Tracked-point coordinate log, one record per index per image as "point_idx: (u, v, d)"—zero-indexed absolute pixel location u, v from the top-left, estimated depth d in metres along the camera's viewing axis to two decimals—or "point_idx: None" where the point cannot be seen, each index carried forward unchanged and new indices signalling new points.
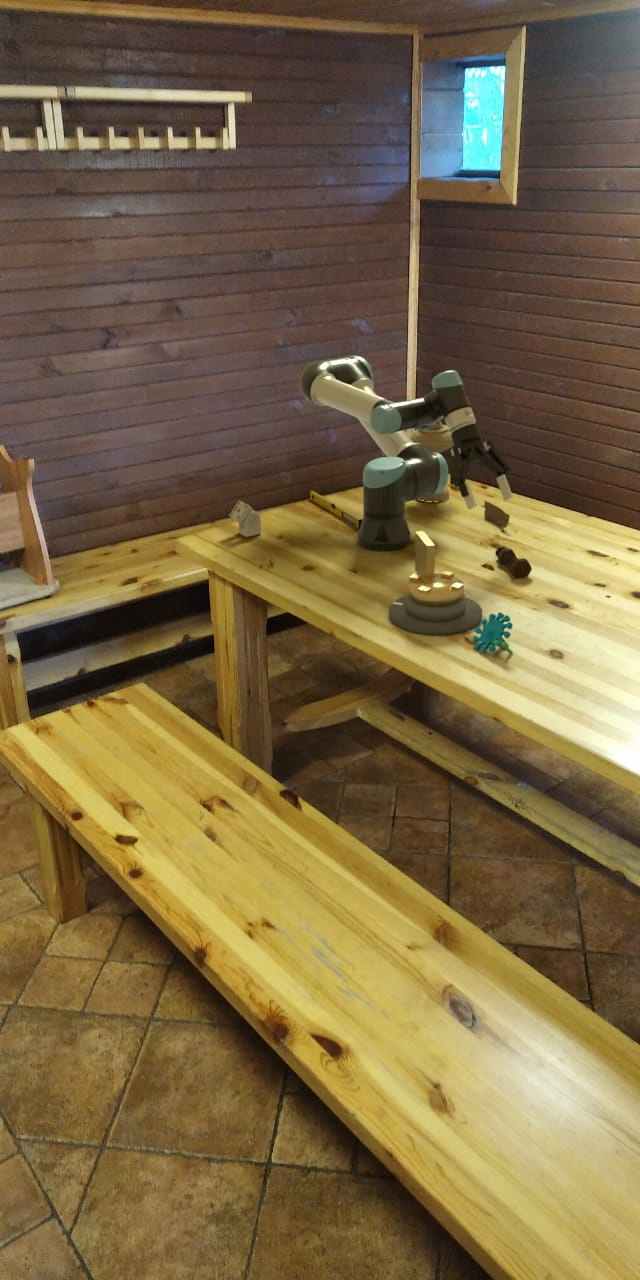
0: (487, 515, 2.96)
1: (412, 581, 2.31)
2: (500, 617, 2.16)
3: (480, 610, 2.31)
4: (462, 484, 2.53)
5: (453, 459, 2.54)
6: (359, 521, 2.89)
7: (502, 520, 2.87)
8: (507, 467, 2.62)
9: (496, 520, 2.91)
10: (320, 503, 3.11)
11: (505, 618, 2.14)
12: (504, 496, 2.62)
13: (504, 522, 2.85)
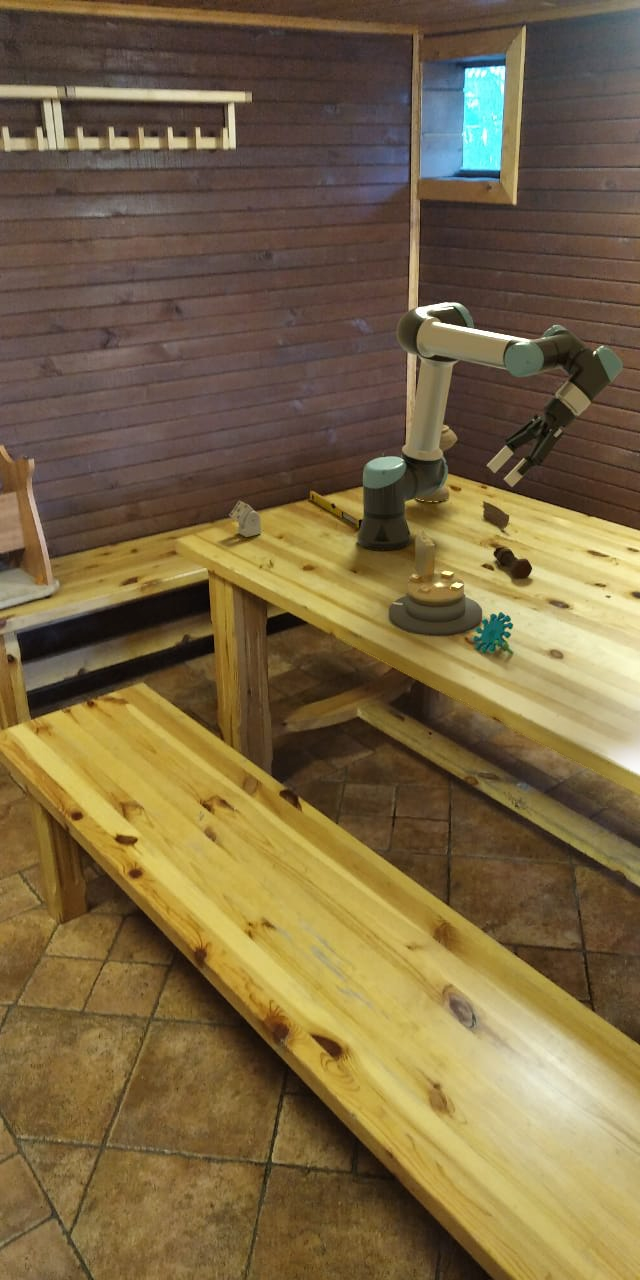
0: (486, 515, 2.96)
1: (412, 581, 2.31)
2: (501, 617, 2.16)
3: (480, 610, 2.31)
4: None
5: (552, 440, 2.23)
6: (359, 521, 2.89)
7: (502, 520, 2.87)
8: None
9: (495, 520, 2.91)
10: (320, 503, 3.11)
11: (506, 618, 2.14)
12: (492, 464, 2.37)
13: (503, 523, 2.85)
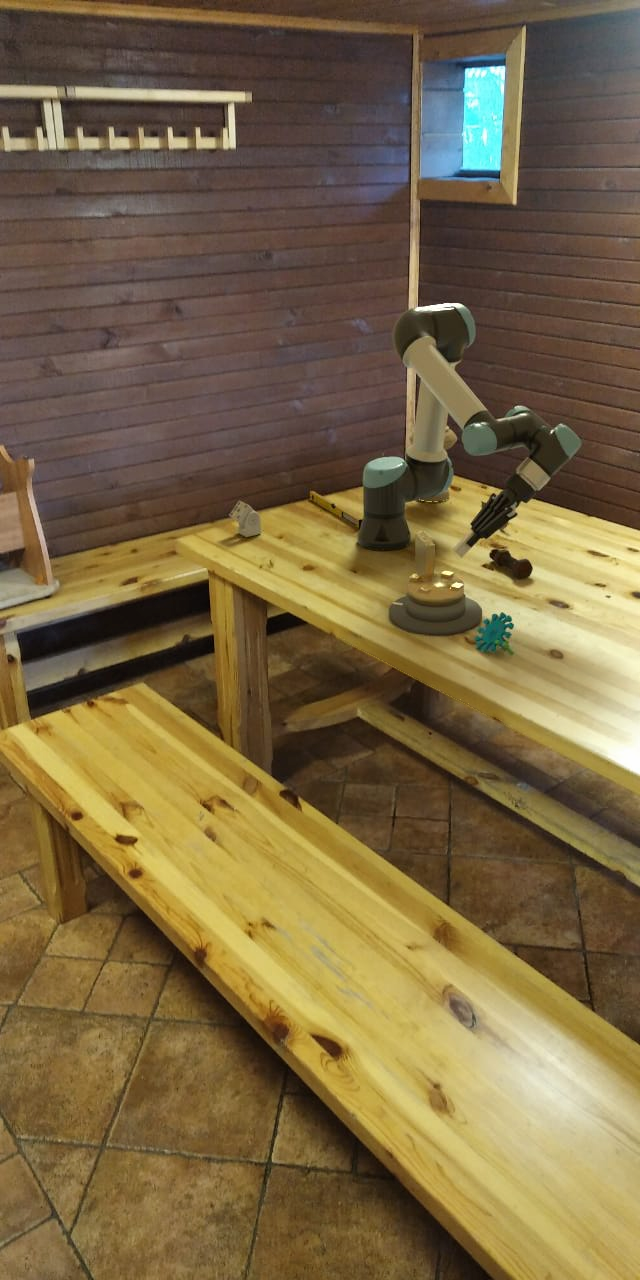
0: None
1: (412, 581, 2.31)
2: (502, 617, 2.16)
3: (480, 610, 2.31)
4: None
5: (504, 519, 2.31)
6: (359, 521, 2.89)
7: None
8: None
9: None
10: (320, 503, 3.11)
11: (507, 618, 2.14)
12: None
13: None
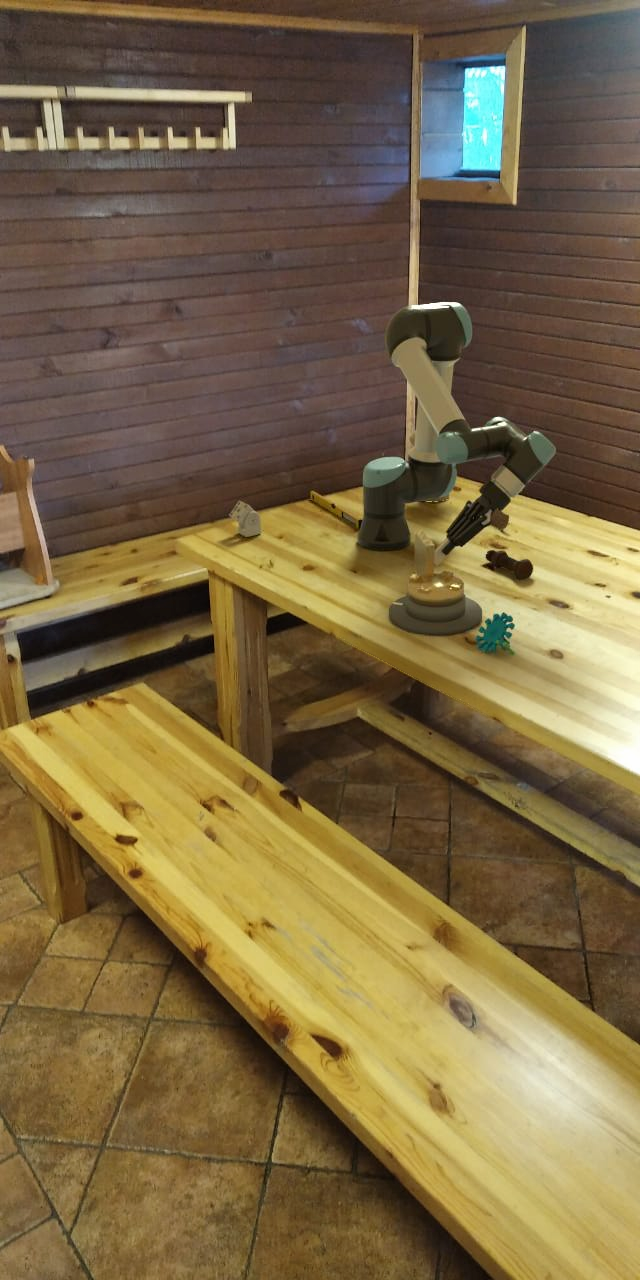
0: None
1: (412, 581, 2.31)
2: (503, 617, 2.16)
3: (480, 610, 2.31)
4: None
5: (479, 527, 2.30)
6: (359, 521, 2.89)
7: (501, 521, 2.86)
8: None
9: (493, 521, 2.90)
10: (320, 503, 3.11)
11: (508, 618, 2.14)
12: None
13: (503, 523, 2.85)
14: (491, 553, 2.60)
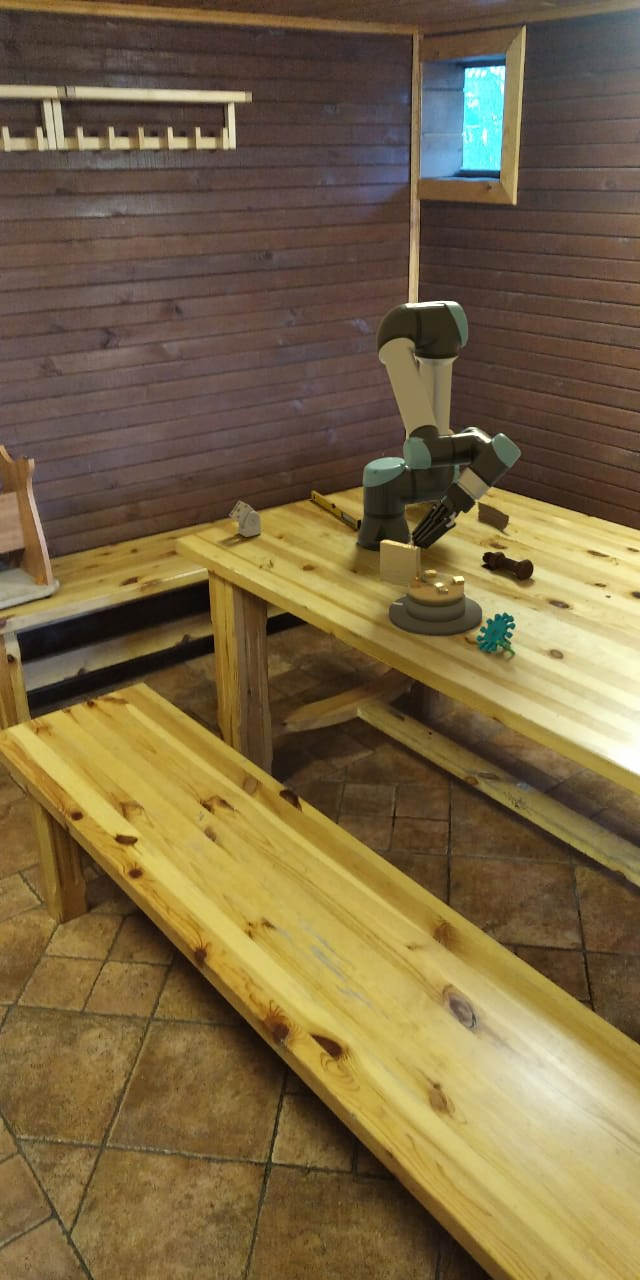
0: (481, 516, 2.95)
1: (415, 588, 2.27)
2: (505, 617, 2.16)
3: (480, 610, 2.31)
4: None
5: (443, 529, 2.30)
6: (358, 521, 2.89)
7: (500, 521, 2.86)
8: None
9: (493, 521, 2.90)
10: (321, 503, 3.11)
11: (509, 618, 2.14)
12: None
13: (503, 523, 2.85)
14: (488, 555, 2.59)
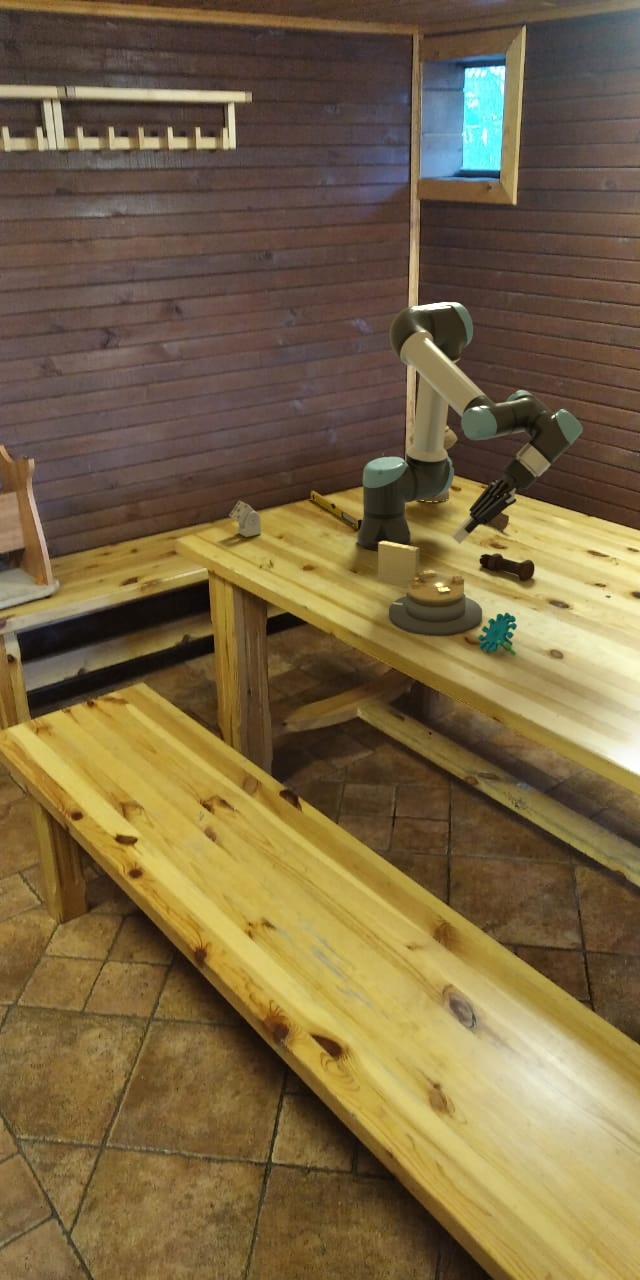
0: None
1: (416, 588, 2.27)
2: (506, 617, 2.15)
3: (480, 610, 2.31)
4: None
5: (503, 505, 2.29)
6: (358, 521, 2.89)
7: (500, 521, 2.86)
8: None
9: (491, 521, 2.90)
10: (320, 503, 3.11)
11: (510, 618, 2.14)
12: None
13: (502, 523, 2.85)
14: (486, 557, 2.58)
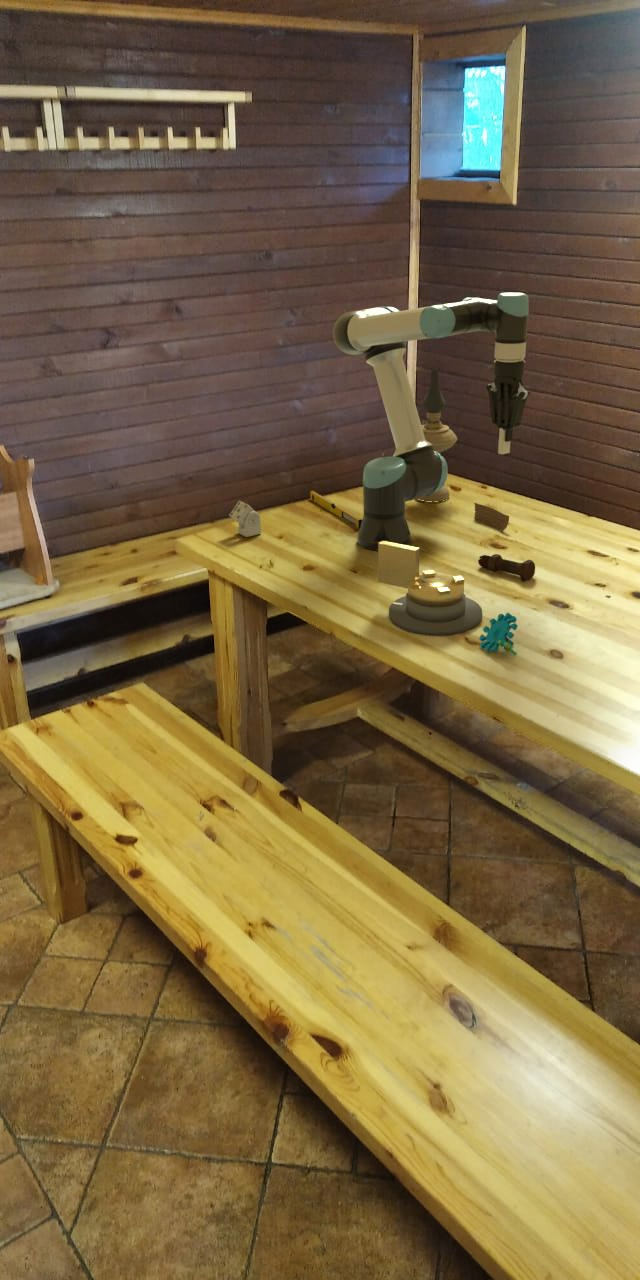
0: (478, 517, 2.94)
1: (416, 588, 2.27)
2: (507, 617, 2.15)
3: (480, 610, 2.31)
4: None
5: (522, 403, 2.42)
6: (359, 521, 2.89)
7: (499, 521, 2.86)
8: None
9: (491, 522, 2.90)
10: (320, 503, 3.11)
11: (511, 619, 2.13)
12: None
13: (502, 524, 2.85)
14: (485, 558, 2.57)
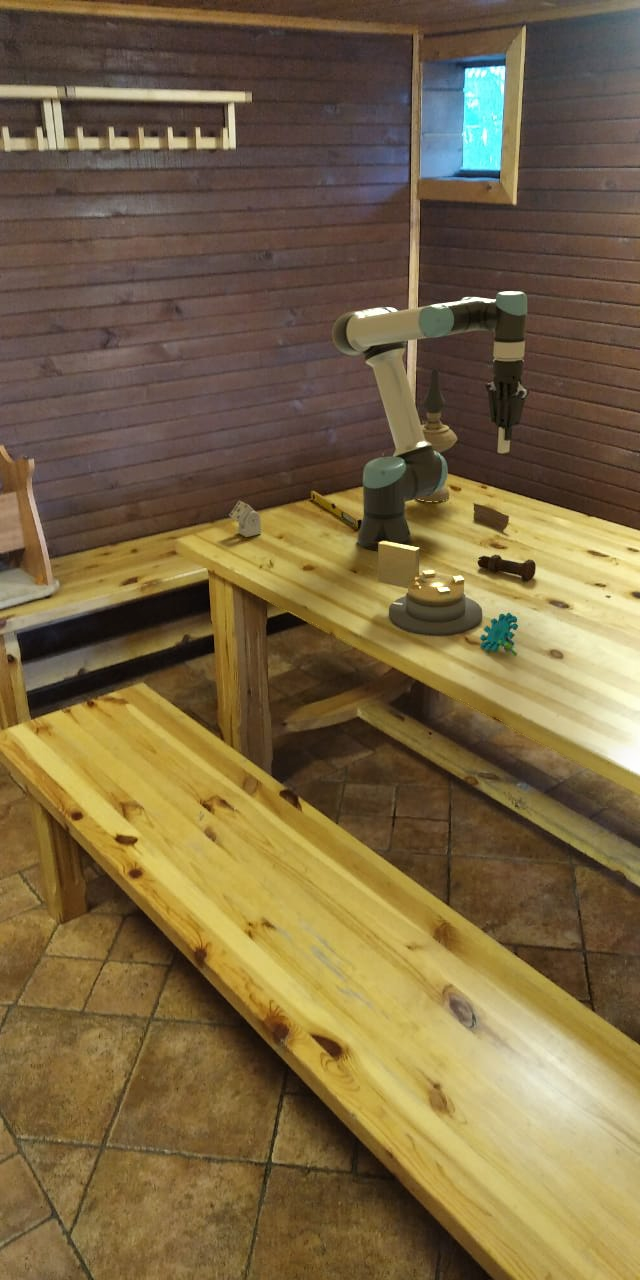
0: (477, 517, 2.94)
1: (416, 588, 2.27)
2: (508, 617, 2.15)
3: (480, 610, 2.31)
4: None
5: (521, 401, 2.42)
6: (358, 521, 2.89)
7: (499, 521, 2.86)
8: None
9: (490, 522, 2.90)
10: (320, 503, 3.11)
11: (512, 619, 2.13)
12: None
13: (502, 523, 2.84)
14: (484, 559, 2.57)
